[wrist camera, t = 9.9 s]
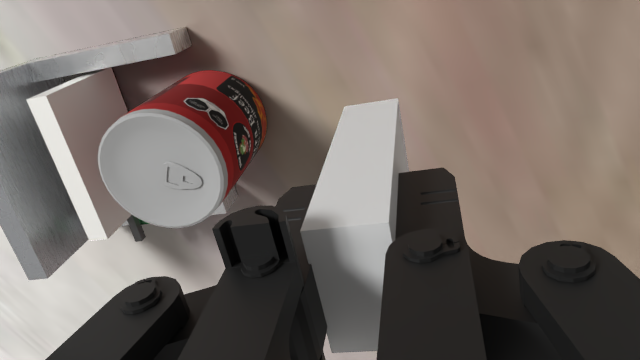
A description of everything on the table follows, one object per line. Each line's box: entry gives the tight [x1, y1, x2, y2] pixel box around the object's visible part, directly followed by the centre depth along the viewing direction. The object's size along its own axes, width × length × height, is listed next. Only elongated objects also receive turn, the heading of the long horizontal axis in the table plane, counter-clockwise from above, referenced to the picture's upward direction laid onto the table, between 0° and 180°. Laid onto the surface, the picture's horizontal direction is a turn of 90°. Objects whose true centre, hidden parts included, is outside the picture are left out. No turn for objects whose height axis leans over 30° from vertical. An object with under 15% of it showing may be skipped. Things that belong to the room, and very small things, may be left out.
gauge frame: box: [0, 27, 237, 280], centre depth 38 cm, size 14×13×10 cm
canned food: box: [98, 70, 267, 228], centre depth 36 cm, size 8×8×11 cm
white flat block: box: [26, 67, 146, 241], centre depth 39 cm, size 13×2×8 cm, turn 12°
